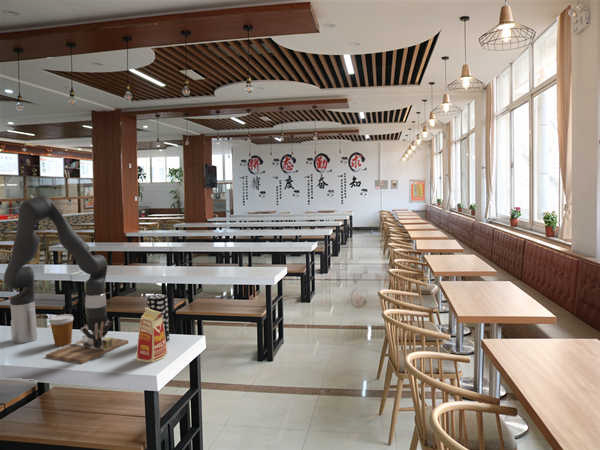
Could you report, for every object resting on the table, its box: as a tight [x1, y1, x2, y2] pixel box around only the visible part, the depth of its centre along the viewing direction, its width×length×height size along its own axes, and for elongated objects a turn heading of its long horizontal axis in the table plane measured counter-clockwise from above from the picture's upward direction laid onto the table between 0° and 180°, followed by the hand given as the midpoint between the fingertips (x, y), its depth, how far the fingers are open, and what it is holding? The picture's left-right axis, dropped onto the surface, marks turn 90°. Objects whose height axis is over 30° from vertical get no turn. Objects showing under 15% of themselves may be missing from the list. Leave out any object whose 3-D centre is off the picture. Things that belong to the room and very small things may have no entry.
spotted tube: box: [146, 293, 170, 343], centre depth 196 cm, size 8×8×20 cm
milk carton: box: [135, 307, 168, 363], centre depth 177 cm, size 9×9×20 cm
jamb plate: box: [45, 327, 129, 364], centre depth 188 cm, size 20×24×6 cm
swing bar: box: [82, 334, 114, 349], centre depth 185 cm, size 15×4×4 cm, turn 64°
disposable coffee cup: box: [48, 313, 75, 347], centre depth 196 cm, size 10×10×12 cm
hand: (97, 347), depth 180 cm, fingers closed
